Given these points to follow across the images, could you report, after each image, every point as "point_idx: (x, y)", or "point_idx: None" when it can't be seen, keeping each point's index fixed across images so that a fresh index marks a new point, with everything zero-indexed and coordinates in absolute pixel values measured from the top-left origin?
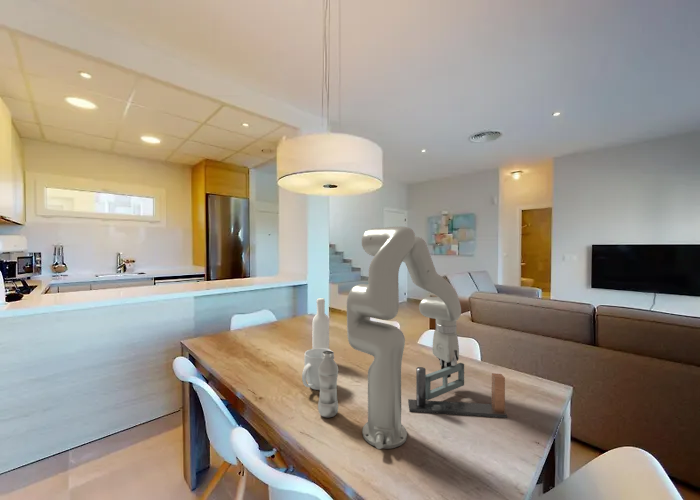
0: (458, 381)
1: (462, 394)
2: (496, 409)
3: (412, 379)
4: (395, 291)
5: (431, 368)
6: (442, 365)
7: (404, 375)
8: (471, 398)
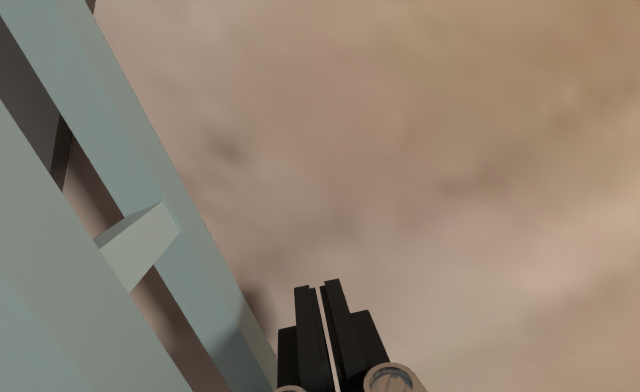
0: (237, 383)
1: None
2: None
3: (535, 71)
4: None
5: (630, 304)
6: (368, 386)
7: (627, 33)
8: None
